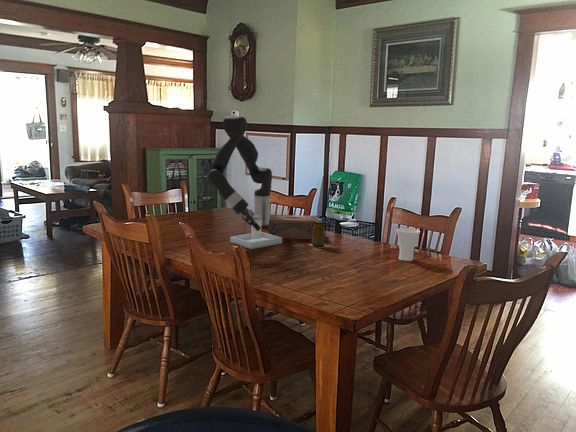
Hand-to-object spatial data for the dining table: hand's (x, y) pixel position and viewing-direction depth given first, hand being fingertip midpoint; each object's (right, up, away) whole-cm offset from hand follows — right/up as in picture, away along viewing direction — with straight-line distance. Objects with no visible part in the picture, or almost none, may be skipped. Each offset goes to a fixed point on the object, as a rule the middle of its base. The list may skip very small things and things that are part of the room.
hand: (260, 228), depth 244 cm
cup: (+67, -14, -19) cm, 71 cm away
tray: (-2, -7, +2) cm, 8 cm away
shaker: (-2, -5, +1) cm, 5 cm away
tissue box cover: (+16, -5, +21) cm, 27 cm away
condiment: (+29, -9, +1) cm, 30 cm away
